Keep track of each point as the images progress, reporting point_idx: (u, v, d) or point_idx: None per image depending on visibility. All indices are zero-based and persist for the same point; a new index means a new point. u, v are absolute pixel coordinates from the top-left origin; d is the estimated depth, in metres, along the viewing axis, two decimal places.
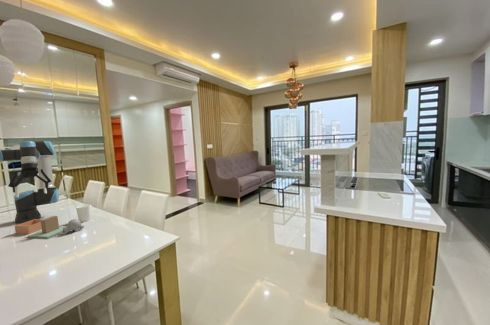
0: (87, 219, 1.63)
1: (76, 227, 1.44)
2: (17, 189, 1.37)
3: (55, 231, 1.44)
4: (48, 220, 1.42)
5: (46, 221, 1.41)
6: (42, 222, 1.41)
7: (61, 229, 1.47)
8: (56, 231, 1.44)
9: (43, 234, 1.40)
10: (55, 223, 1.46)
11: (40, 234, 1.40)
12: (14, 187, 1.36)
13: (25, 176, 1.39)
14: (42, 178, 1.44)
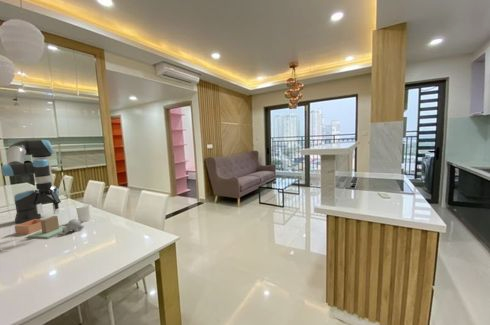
0: (87, 219, 1.63)
1: (76, 227, 1.44)
2: (39, 206, 1.44)
3: (55, 231, 1.44)
4: (48, 220, 1.42)
5: (46, 221, 1.41)
6: (42, 222, 1.41)
7: (61, 229, 1.47)
8: (56, 231, 1.44)
9: (43, 234, 1.40)
10: (55, 223, 1.46)
11: (40, 234, 1.40)
12: (36, 204, 1.44)
13: (41, 195, 1.42)
14: None
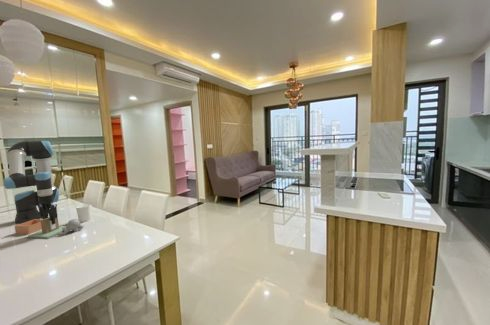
0: (87, 219, 1.63)
1: (76, 227, 1.44)
2: None
3: (55, 231, 1.44)
4: (48, 220, 1.42)
5: (46, 221, 1.41)
6: (42, 222, 1.41)
7: (61, 229, 1.47)
8: (56, 231, 1.44)
9: (43, 234, 1.40)
10: (55, 223, 1.46)
11: (40, 234, 1.40)
12: None
13: (44, 208, 1.43)
14: None
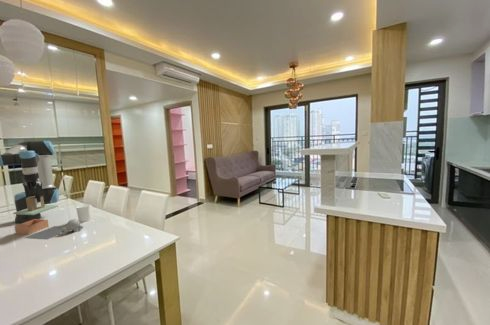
0: (87, 219, 1.63)
1: (75, 227, 1.43)
2: None
3: (40, 209, 1.46)
4: (33, 198, 1.45)
5: (31, 199, 1.43)
6: (27, 199, 1.43)
7: (47, 207, 1.49)
8: (41, 209, 1.46)
9: (28, 211, 1.43)
10: (41, 201, 1.49)
11: (25, 211, 1.42)
12: None
13: (30, 186, 1.45)
14: None
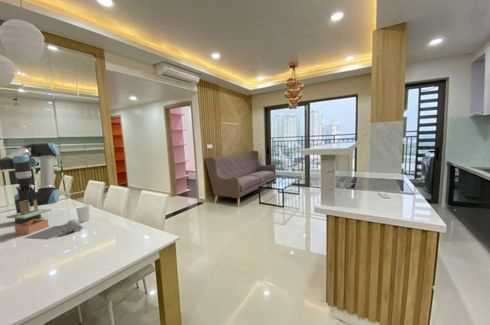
0: (87, 219, 1.63)
1: (75, 227, 1.43)
2: None
3: (33, 213, 1.48)
4: (26, 202, 1.46)
5: (24, 203, 1.45)
6: (20, 203, 1.45)
7: (40, 211, 1.51)
8: (34, 213, 1.48)
9: (21, 215, 1.44)
10: (34, 205, 1.51)
11: (18, 215, 1.44)
12: None
13: (23, 190, 1.47)
14: None
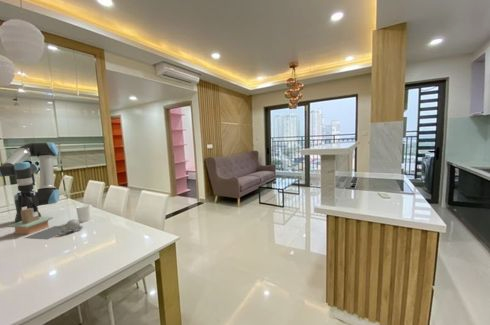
0: (87, 219, 1.63)
1: (75, 227, 1.43)
2: (24, 209, 1.50)
3: (35, 221, 1.49)
4: (28, 211, 1.47)
5: (26, 211, 1.46)
6: (21, 212, 1.46)
7: (41, 220, 1.52)
8: (36, 221, 1.49)
9: (22, 224, 1.45)
10: None
11: (20, 224, 1.45)
12: (22, 207, 1.49)
13: (24, 197, 1.47)
14: None
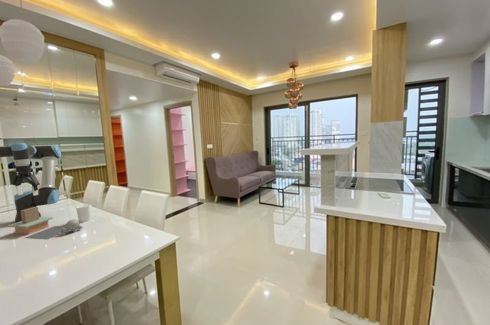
0: (87, 219, 1.63)
1: (75, 227, 1.43)
2: (19, 187, 1.52)
3: (35, 221, 1.49)
4: (28, 211, 1.47)
5: (26, 211, 1.46)
6: (21, 212, 1.46)
7: (41, 220, 1.52)
8: (36, 221, 1.49)
9: (22, 224, 1.45)
10: (35, 214, 1.51)
11: (20, 224, 1.45)
12: None
13: (20, 177, 1.49)
14: None
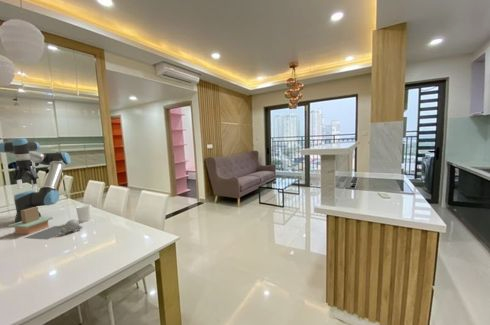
0: (87, 219, 1.63)
1: (75, 227, 1.43)
2: (19, 181, 1.58)
3: (35, 221, 1.49)
4: (28, 211, 1.47)
5: (26, 211, 1.46)
6: (21, 212, 1.46)
7: (41, 220, 1.52)
8: (36, 221, 1.49)
9: (22, 224, 1.45)
10: (35, 214, 1.51)
11: (20, 224, 1.45)
12: (17, 180, 1.58)
13: (21, 171, 1.56)
14: (31, 174, 1.55)
